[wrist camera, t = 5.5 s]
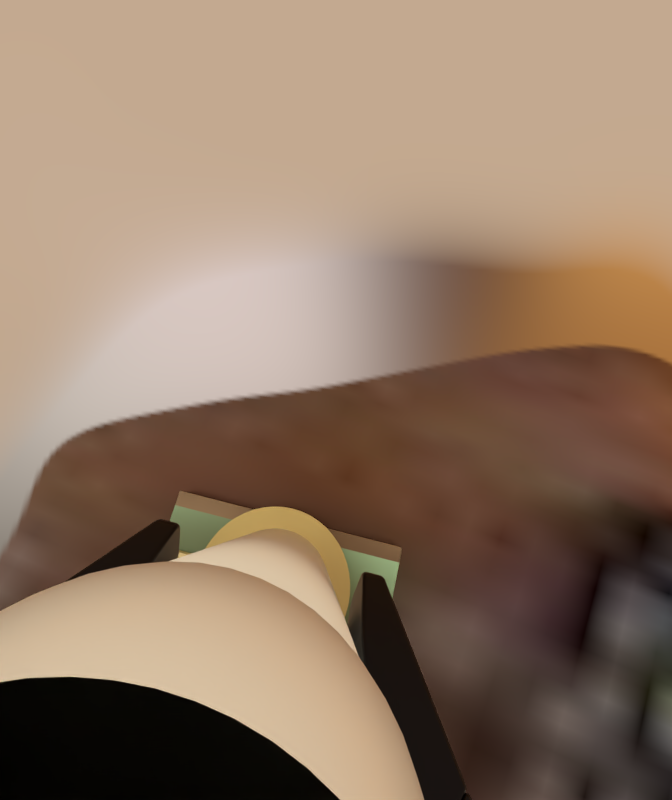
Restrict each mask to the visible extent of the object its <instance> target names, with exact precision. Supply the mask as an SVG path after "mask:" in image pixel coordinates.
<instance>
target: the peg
mask: <svg viewBox="0 0 672 800" xmlns="http://www.w3.org/2000/svg"><path fill="white" fill-rule="evenodd" d="M349 597H350V576H349V570H348V565H347V562H346V559H345V556H344V553H343V551H342V549H341V547H340V545H339V543H338V542H337V540H336V539H335V537H334V536H333V535H332V533H331V532H330V531H329V530H328V529H327V528H326V527H325V526H324V525H323V524H322V523H321V522H319V521H318V520H316V519H315V518H313V517H312V516H310V515H308V514H306V513H304V512H302V511H299V510H296V509H292V508H287V507H263V508H259V509H254V510H251V511H249V512H246V513H244V514H242V515H240V516H238V517H236V518H234V519H233V520H231V521H230V522H228V523H227V524H226V525H225V526H224V527H222V528H221V529H220V530H219V531H218V532H217V533H216V535H215V536H214V537H213V538H212V539H211V541H210V542H209V544H208V545H207V546H206V548H205V549H203V550H200V551H197V552H195V553H189V552H185V551H181V550H179V555H178V558H177V559H174V560H171V561H167V562H156V563H145V564H135V565H126V566H120V567H116V568H111V569H107V570H102V571H98V572H94V573H89V574H86V575H83V576H80V577H78V578H75V579H72V580H69V581H67V582H64V583H61V584H58V585H56V586H53V587H50V588H48V589H45V590H43V591H41V592H38V593H36V594H33V595H31V596H29V597H27V598H25V599H23V600H21V601H19V602H17V603H15V604H13V605H11V606H9V607H7V608H5V609H3V610H1V611H0V800H424V797H423V794H422V790H421V787H420V784H419V781H418V777H417V774H416V771H415V768H414V765H413V762H412V760H411V757H410V754H409V751H408V748H407V745H406V742H405V739H404V736H403V734H402V732H401V730H400V728H399V725H398V723H397V721H396V719H395V717H394V715H393V713H392V711H391V709H390V707H389V705H388V703H387V700H386V699H385V697H384V695H383V694H382V692H381V691H380V689H379V687H378V686H377V684H376V683H375V681H374V680H373V678H372V676H371V675H370V673H369V672H368V670H367V669H366V667H365V665H364V664H363V662H362V661H361V659H360V658H359V656H358V653H357V651H356V648H355V645H354V642H353V640H352V637H351V634H350V632H349V629H348V626H347V623H346V621H345V615H346V612H347V608H348V604H349Z"/></svg>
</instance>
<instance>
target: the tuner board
mask: <svg viewBox="0 0 672 800" xmlns="http://www.w3.org/2000/svg"><path fill="white" fill-rule="evenodd" d="M251 510H254V509H251V508H247V507H243V506H239V505H235V504H232V503H228V502H224V501H220V500H216V499H212V498H208V497H204V496H200V495H197V494H193V493H189V492H184V491H180V492H179V495H178V498H177V501H176V504H175V507H174V510H173V513H172V516H171V519H170V521H171V522H175V523H177V524H179V526H180V544H179V550H181V551H185V552H189V553H195V552H197V551H200V550H203V549H205V548H206V546H207V545H208V544H209V542H210V541H211V539H212V538H213V537H214V536H215V535H216V533H217V532H218V531H219V530H220V529H221V528H222V527H224V526H225V525H226V524H227V523H228V522H230V521H231V520H233V519H234V518H236V517H238V516H240V515H242V514H244V513H246V512H249V511H251ZM327 529H328V530H329V531H330V532H331V533H332V535H333V536H334V537H335V539H336V540H337V542H338V543H339V545H340V547H341V549H342V551H343V553H344V556H345V559H346V562H347V565H348V570H349V576H350V597H349V604H348V608H347V612H346V615H345V621H346V623H348V617H349V610H350V605H351V601H352V598H353V595H354V592H355V590H356V587H357V584H358V582H359V579H360V577H361V574H362V573H363V572H369V573H373V574H377V575H380V576H382V577H383V578H384V579H385V581H386V584H387V586H388V589H389V591H390V594H391V596H392V598H393V592H394V587H395V582H396V577H397V572H398V567H399V562H400V557H401V552H402V548H401V547H398V546H395V545H391V544H387V543H383V542H379V541H376V540H372V539H368V538H364V537H360V536H356V535H352V534H348V533H344V532H341V531H337V530H333V529H329V528H327Z"/></svg>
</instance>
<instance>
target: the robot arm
mask: <svg viewBox="0 0 672 800" xmlns="http://www.w3.org/2000/svg"><path fill="white" fill-rule="evenodd" d="M179 544H180V526H179V524H177V523H175V522H171V521H167V520H162V519H160V520H156V521H155V522H153V523H152V524H150V525H149V526H147V527H146V528H144V529H143V530H141V531H140V532H138V533H137V534H135V535H134V536H132V537H131V538H129V539H128V540H126V541H125V542H123V543H122V544H120V545H119V546H117V547H116V548H114V549H113V550H112V551H110V552H109V553H107V554H106V555H104V556H103V557H101V558H100V559H98V560H97V561H95V562H94V563H92V564H91V565H89V566H88V567H86V568H85V569H83V570H82V571H80V572H79V573H77V574H76V575H74V576H73V577H71V578H70V579H68V580H67V581H69V580H72V579H75V578H78V577H80V576H83V575H86V574H89V573H94V572H98V571H102V570H107V569H111V568H116V567H120V566H126V565H135V564H145V563H156V562H167V561H171V560H174V559H177V558H178V555H179ZM67 581H65V582H67ZM347 626H348V629H349V632H350V634H351V637H352V640H353V642H354V645H355V648H356V651H357V653H358V656H359V658H360V659H361V661H362V662H363V664H364V665H365V667H366V669H367V670H368V672H369V673H370V675H371V676H372V678H373V680H374V681H375V683H376V684H377V686H378V687H379V689H380V691H381V692H382V694H383V695H384V697H385V699H386V700H387V703H388V705H389V707H390V709H391V711H392V713H393V715H394V717H395V719H396V721H397V723H398V725H399V728H400V730H401V732H402V734H403V736H404V739H405V742H406V745H407V748H408V751H409V754H410V757H411V760H412V762H413V765H414V768H415V771H416V774H417V777H418V781H419V784H420V787H421V790H422V794H423V797H424V800H471V797H470V795H469V794H468V793H465V792H466V785H465V782H464V780H463V777H462V775H461V772H460V770H459V767H458V764H457V762H456V759H455V757H454V754H453V752H452V749H451V747H450V744H449V742H448V739H447V736H446V734H445V731H444V729H443V726H442V724H441V721H440V719H439V716H438V713H437V711H436V708H435V706H434V703H433V701H432V698H431V696H430V693H429V691H428V688H427V685H426V683H425V680H424V678H423V675H422V673H421V670H420V668H419V665H418V663H417V660H416V657H415V655H414V652H413V650H412V647H411V645H410V642H409V640H408V637H407V635H406V632H405V629H404V627H403V624H402V622H401V619H400V617H399V614H398V612H397V609H396V606H395V604H394V601H393V599H392V596H391V594H390V591H389V589H388V586H387V584H386V581H385V579H384V578H383V577H382V576H380V575H377V574H373V573H369V572H363V573H362V574H361V577H360V579H359V582H358V584H357V587H356V590H355V592H354V595H353V598H352V601H351V605H350V610H349V617H348V623H347Z"/></svg>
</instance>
